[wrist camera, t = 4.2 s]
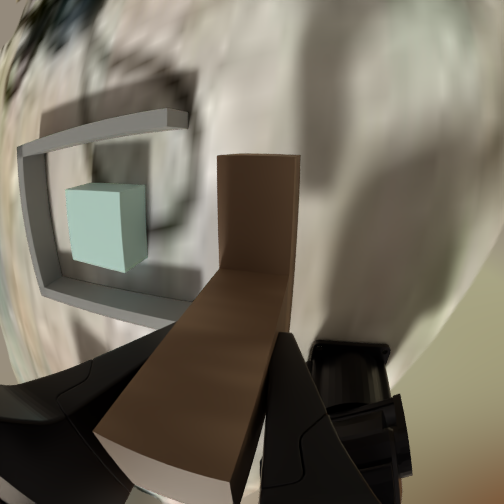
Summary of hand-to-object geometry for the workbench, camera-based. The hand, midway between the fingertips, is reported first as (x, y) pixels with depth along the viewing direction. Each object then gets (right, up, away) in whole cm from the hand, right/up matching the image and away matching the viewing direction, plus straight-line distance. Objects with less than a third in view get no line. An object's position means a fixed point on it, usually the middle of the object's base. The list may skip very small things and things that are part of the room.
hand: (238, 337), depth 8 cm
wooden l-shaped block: (+1, +2, +5) cm, 5 cm away
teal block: (-11, +5, +14) cm, 19 cm away
